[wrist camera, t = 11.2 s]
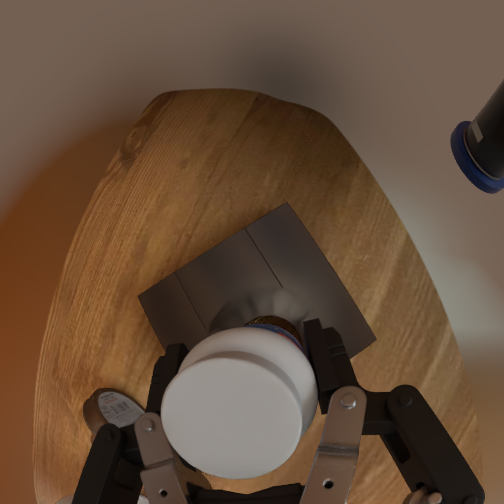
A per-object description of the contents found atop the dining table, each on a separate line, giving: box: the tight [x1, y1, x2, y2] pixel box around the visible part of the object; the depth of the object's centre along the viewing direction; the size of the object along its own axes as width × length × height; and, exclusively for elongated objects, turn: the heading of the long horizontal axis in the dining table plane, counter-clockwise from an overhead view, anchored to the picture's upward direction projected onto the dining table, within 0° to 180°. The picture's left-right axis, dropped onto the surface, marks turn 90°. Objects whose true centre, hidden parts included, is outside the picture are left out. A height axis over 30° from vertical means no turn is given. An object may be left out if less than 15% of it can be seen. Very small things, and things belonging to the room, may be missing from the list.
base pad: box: [138, 202, 377, 360], centre depth 26 cm, size 18×17×3 cm
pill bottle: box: [161, 323, 318, 479], centre depth 11 cm, size 6×5×10 cm
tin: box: [83, 388, 202, 472], centre depth 22 cm, size 15×3×8 cm, turn 50°
